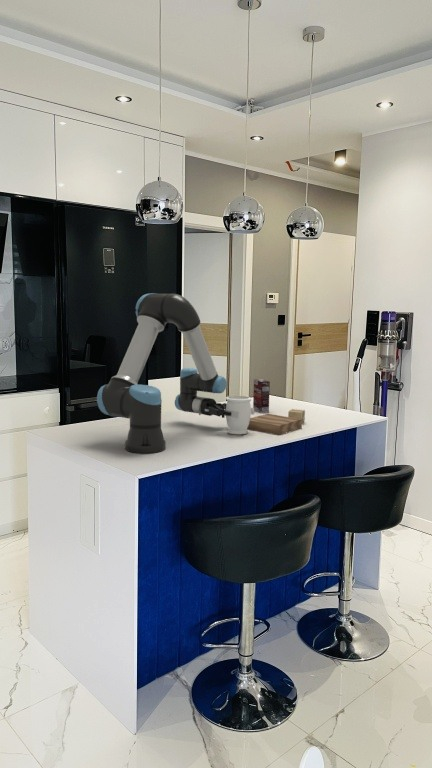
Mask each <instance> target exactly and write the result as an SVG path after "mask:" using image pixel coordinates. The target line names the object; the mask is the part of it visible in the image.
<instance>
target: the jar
mask: <svg viewBox="0 0 432 768" xmlns="http://www.w3.org/2000/svg"><path fill="white" fill-rule="evenodd" d="M225 400H226V409H227V410H233V411H239V418H233V417H227V416H225V418H226V420H225V421H226V425H227V427H228V430H227V433H228V434H230V435H237V436H238V435H245V434H248V433H249V431H248V429H247V428H248V425H249V421H250V418H251V416H252V414H251V408H252V407H251V401H252V397H250V396H244V395H230V396H229V395H228V396H226V397H225Z"/></svg>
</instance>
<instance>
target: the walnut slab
mask: <svg viewBox="0 0 432 768" xmlns="http://www.w3.org/2000/svg"><path fill="white" fill-rule="evenodd" d="M302 426H303V424H302V419H297V418H291V417H288V416H284V415H278V414H271V413H264V414H261V415H257V416H254V417H250V421H249V425H248V428H247V430H250V431H255V432H256V431H257V432H260V433H261V432H262V433H265V434H271V433H272V434H271V435H276V434H277V435H278V436H280V435H283V434H287V433H290V432H289V431H291V432H293V430H294V431H297V430H300V429H302V428H303V427H302ZM296 429H297V430H296ZM286 432H287V433H286Z"/></svg>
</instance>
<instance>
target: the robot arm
mask: <svg viewBox="0 0 432 768" xmlns="http://www.w3.org/2000/svg"><path fill="white" fill-rule="evenodd" d="M135 315H136V322H137V323H138V325H137V327H136V329H135V332H134V334H133V335H132V338H131V341H130V343H129V346H128V347H127V350H126V352H125V355H124V357H123V359H122V362H121V364H120V366H119V369H118V372H117V373H116V375H114V376H112V377H111V378H110V380H109V382H108V383H107V384H104V385H102V386H100V388H99V389H98V391H97V395H96V403H97V407H98V409H99V410H100V412H101V413H103V414H104V415H108V416H110V417H117V418H124V419H129V430H128V433H127V437H126V440H125V441H124V449H125V451H127V452H130V453H133V454H135V453H136V454H153V453H159V452H163V451H165V450H166V448H167V447H166V445H167V444H166V440H165V437H164V434H163V429H162V402H163V401H162V392H161V390H160V389H159V388H158V387H155V386H152V385H148V384H138V383H139V380H140V378H141V376H142V373H143V370H144V369H145V366H146V363H147V361H148V358H149V356H150V354H151V351H152V348H153V345H154V344H155V341H156V339H157V336H158V334H159V333H161V332H163V331H164V330H165V327H166V325H167V324H174V325H175V326H176V327H177V330H178V331H179V332H181V333H182V336H183V337H184V341H185V343H186V345H187V348H188V351H189V352H190V355H191V358H192V360H193V362H194V365H195V367H196V368H194V367H193V368H191V367H188V368H187V367H185V368H182V369H180V376H179V377H180V378H179V385H180V386H179V391H180V392H179V394H177V395H176V396H175V399H174V406H175V408H176V409H177V410H179V411H182V412H184V413H185V412H186V413H194V414H198V415H199V416H201V415H204V416H208V417H211V416H216V417H221V418H222V419H223V418H226V416H227V417H233V418H239V411H233V410H227V409H226V404H227V402H223V403H220V402H216V400H215V399H214V398H210V397H204V396H198V395H197V394H198V392H204V393H211V394H222V393H224V392H225V390H226V389H227V384H228V383H227V380H226V379H227V378H225V377H224V376H222V375H219V373H218V371H217V369H216V367H215V364H214V361H213V359H212V355H211V353H210V350H209V348H208V345H207V343H206V340H205V337H204V334H203V331H202V329H201V326H200V325H201V323H202V322H201V319H200V316H199V314H198V312H197V310H196V309H195V308H194V306H193V305H192V303H191V302H190V301H189V300H188V299H187V298H185V297H184V296H182V295H180V294H177V293H156V292H152V293H146V294H143V295H142V296H141V297H140V298H138V300H137V302H136V304H135ZM253 415H255V411H254V408H253V407H251V416H253Z"/></svg>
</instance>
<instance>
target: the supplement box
mask: <svg viewBox="0 0 432 768" xmlns="http://www.w3.org/2000/svg"><path fill="white" fill-rule="evenodd" d="M270 383H271V382H270V381H269V380H266V379H263V378H255V379H253V397H252V398H253V404H252V408H254V412H257V413H260V414H270V413H269V412H270V387H271V386H270Z"/></svg>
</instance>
